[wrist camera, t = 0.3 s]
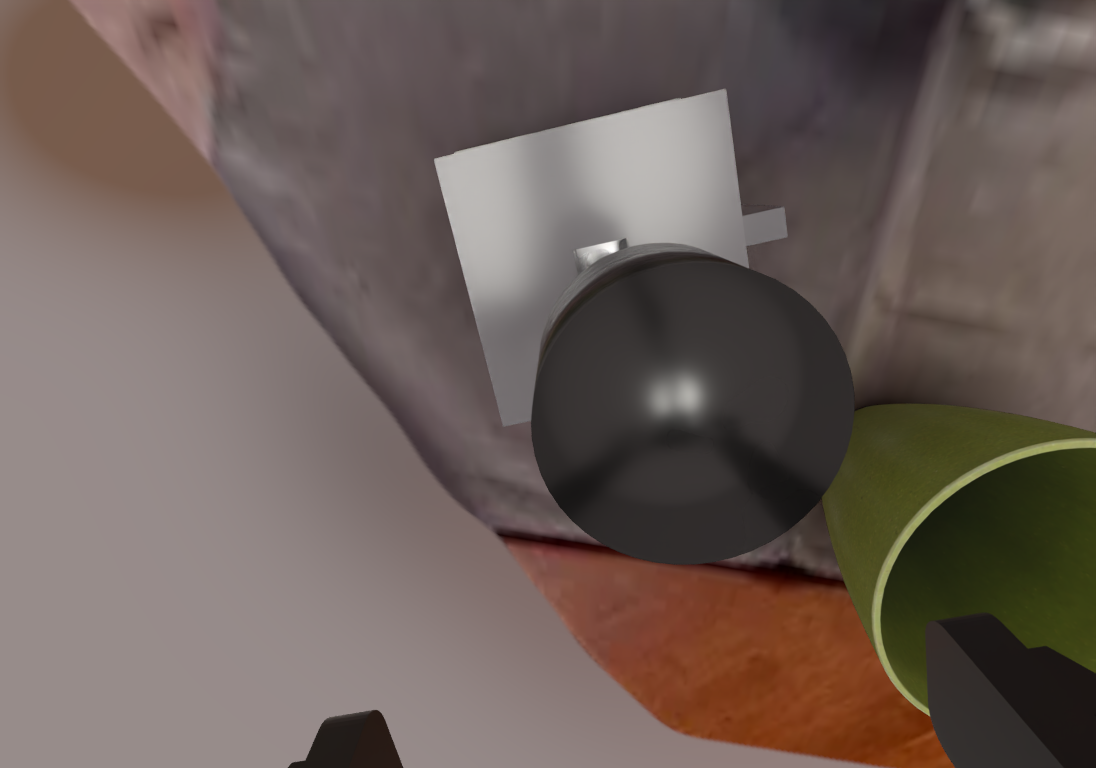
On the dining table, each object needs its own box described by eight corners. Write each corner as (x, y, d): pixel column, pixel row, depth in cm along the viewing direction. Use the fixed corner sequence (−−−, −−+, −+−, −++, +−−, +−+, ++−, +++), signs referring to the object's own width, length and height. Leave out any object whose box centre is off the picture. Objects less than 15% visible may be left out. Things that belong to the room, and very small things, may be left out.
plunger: (482, 185, 25) (280, 167, 7) (681, 138, 24) (1023, -14, 6) (528, 372, 27) (463, 725, 9) (711, 334, 27) (1024, 633, 9)
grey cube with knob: (458, 153, 37) (383, 126, 21) (692, 97, 36) (793, 24, 20) (509, 360, 41) (477, 465, 25) (723, 315, 40) (829, 395, 24)
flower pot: (747, 372, 41) (859, 482, 25) (983, 322, 39) (1250, 405, 24) (775, 567, 45) (886, 761, 30) (989, 527, 44) (1220, 708, 28)
